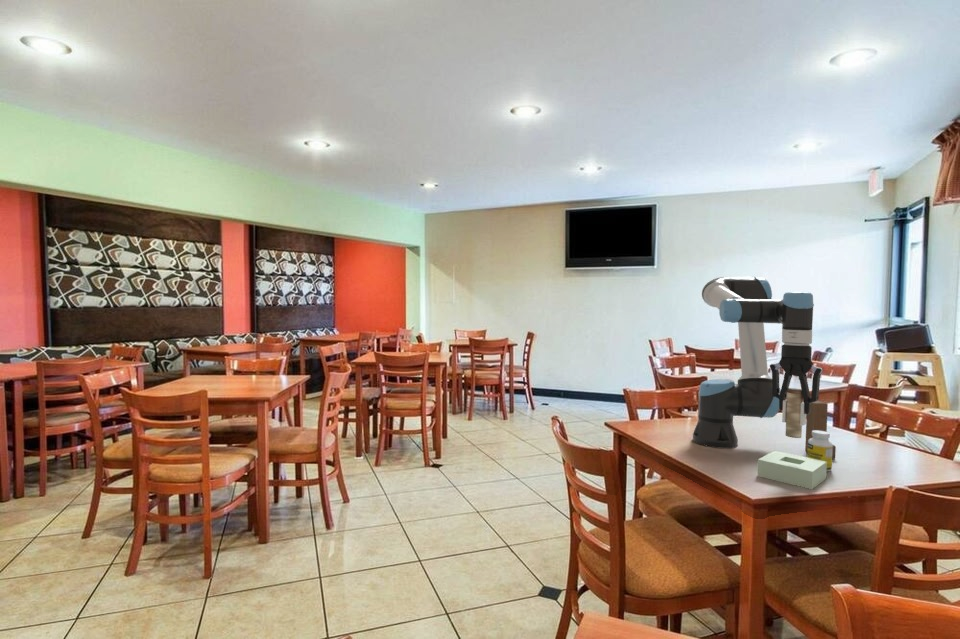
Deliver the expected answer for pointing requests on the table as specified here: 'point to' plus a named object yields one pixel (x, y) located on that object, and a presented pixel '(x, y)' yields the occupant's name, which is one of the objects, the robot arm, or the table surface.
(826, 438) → the pill bottle
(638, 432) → the table surface
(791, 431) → the dowel
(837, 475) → the table surface
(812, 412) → the wooden block
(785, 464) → the socket block
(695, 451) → the table surface
